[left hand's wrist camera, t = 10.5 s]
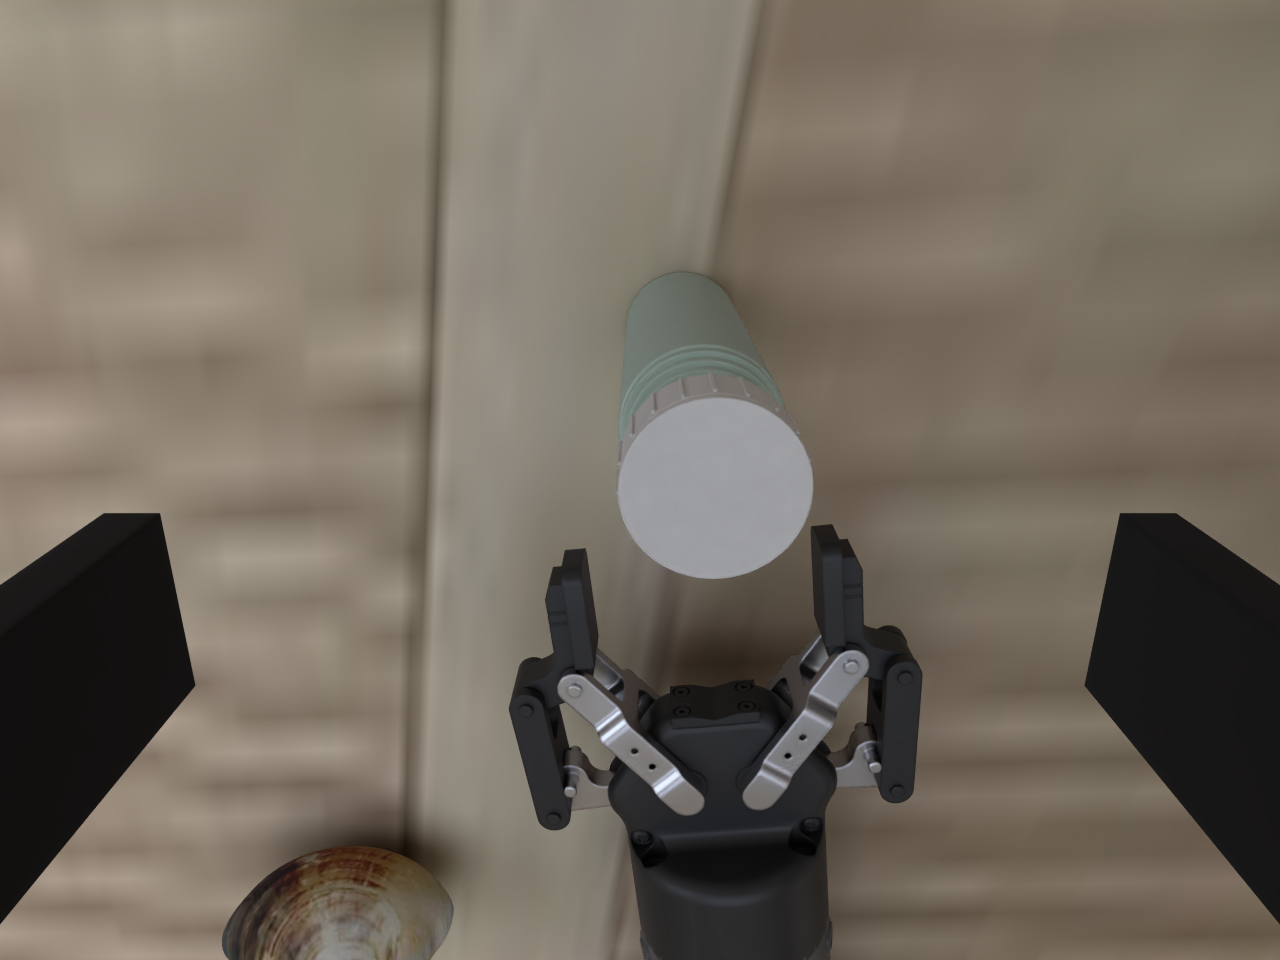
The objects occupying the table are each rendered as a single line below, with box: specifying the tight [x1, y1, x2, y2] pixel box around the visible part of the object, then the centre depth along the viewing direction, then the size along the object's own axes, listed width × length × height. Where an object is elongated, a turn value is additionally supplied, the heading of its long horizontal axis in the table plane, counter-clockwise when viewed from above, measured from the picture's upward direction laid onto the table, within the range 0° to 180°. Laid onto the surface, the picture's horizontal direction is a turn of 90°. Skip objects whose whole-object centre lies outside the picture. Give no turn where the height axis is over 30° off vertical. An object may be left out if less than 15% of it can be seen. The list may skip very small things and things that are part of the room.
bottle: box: [618, 272, 785, 441], centre depth 26 cm, size 4×4×16 cm
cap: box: [616, 372, 814, 579], centre depth 19 cm, size 4×4×2 cm
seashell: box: [222, 846, 453, 960], centre depth 39 cm, size 10×6×8 cm, turn 89°
